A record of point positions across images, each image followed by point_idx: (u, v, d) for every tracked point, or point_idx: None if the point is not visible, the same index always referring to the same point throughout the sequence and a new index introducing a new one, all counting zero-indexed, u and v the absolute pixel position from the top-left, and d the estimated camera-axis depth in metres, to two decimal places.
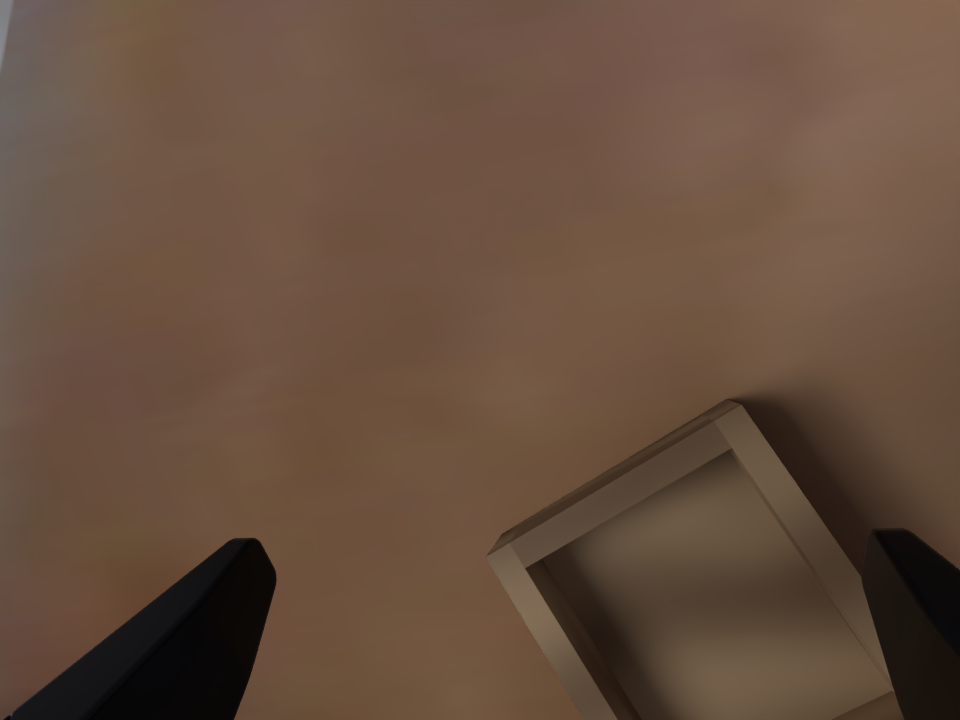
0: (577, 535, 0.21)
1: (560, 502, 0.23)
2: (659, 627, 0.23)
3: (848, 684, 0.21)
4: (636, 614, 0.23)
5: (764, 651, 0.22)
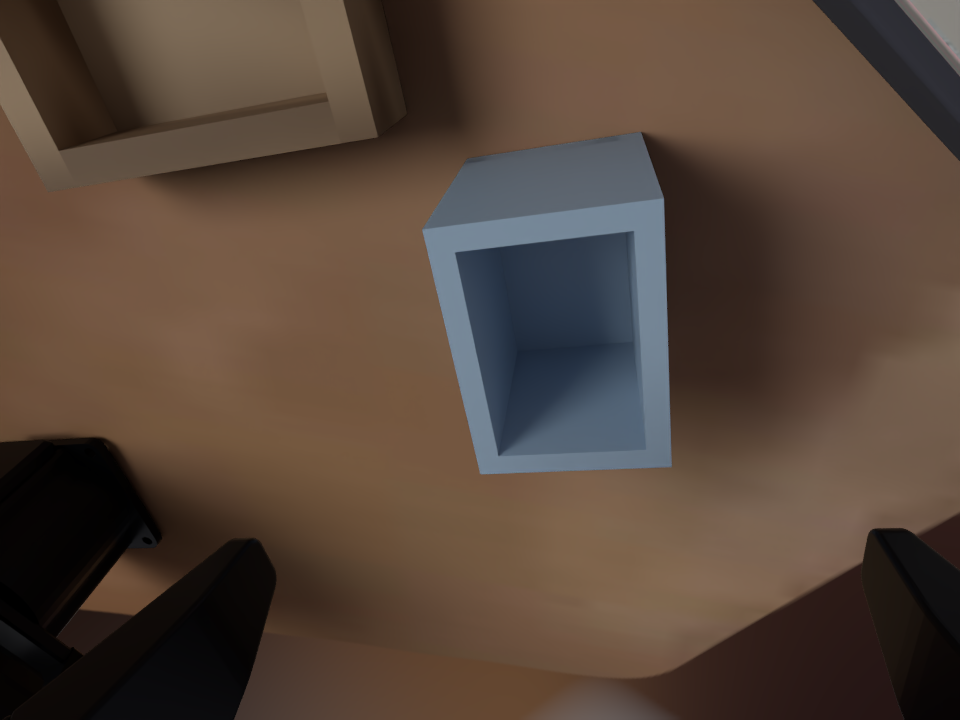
0: None
1: None
2: None
3: (315, 62, 0.17)
4: None
5: None
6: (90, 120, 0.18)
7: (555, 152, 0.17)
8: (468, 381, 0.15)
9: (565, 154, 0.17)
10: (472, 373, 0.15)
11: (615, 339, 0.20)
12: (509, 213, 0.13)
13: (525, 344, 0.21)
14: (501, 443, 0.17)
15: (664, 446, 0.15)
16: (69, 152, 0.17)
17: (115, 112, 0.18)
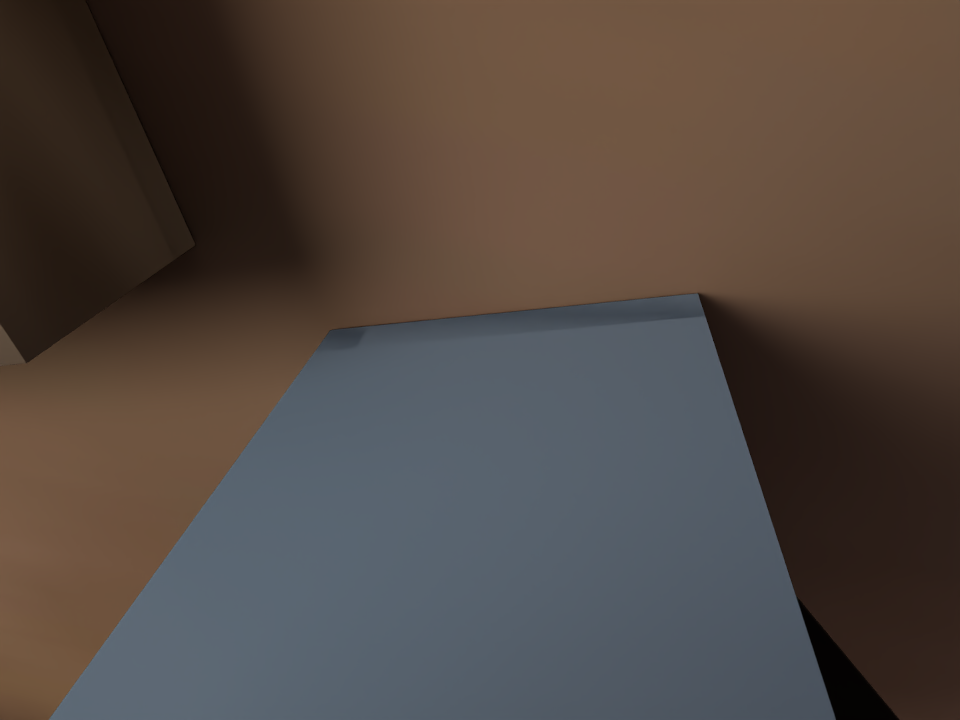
0: None
1: None
2: None
3: None
4: None
5: None
6: None
7: (505, 345, 0.07)
8: None
9: (525, 361, 0.07)
10: None
11: None
12: None
13: None
14: None
15: None
16: None
17: None
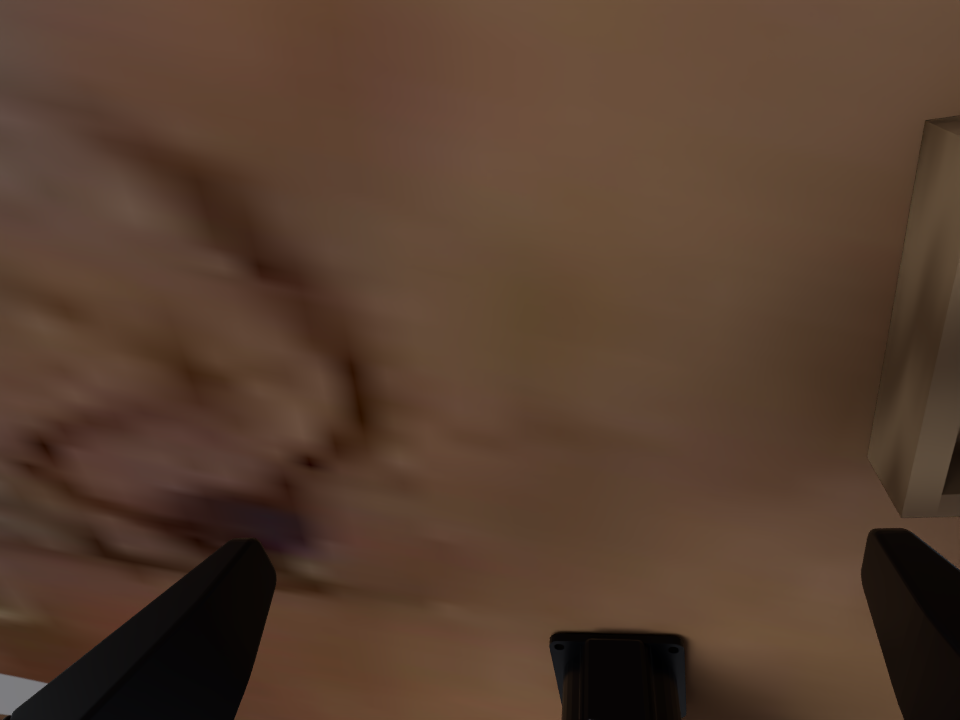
0: None
1: None
2: None
3: None
4: None
5: None
6: None
7: None
8: None
9: None
10: None
11: None
12: None
13: None
14: None
15: None
16: (951, 496, 0.19)
17: None
